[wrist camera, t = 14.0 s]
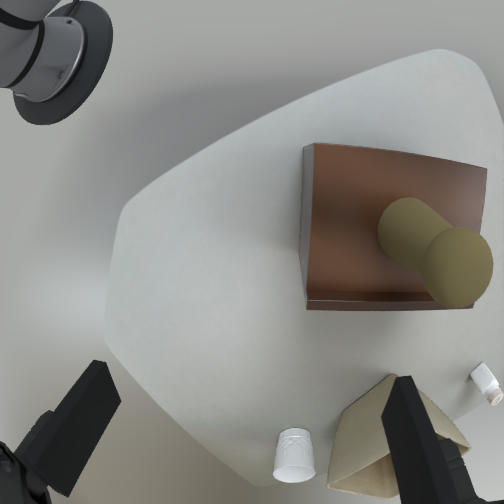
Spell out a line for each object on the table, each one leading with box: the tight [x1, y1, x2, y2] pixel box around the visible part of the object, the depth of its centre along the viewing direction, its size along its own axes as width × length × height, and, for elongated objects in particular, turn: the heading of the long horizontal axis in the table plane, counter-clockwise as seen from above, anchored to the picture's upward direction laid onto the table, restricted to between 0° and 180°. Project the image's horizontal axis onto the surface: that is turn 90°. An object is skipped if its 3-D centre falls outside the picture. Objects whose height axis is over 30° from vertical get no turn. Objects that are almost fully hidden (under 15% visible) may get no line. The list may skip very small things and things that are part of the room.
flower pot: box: [326, 374, 471, 499], centre depth 40 cm, size 19×19×17 cm
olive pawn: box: [377, 197, 493, 309], centre depth 19 cm, size 6×6×11 cm
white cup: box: [273, 428, 315, 483], centre depth 48 cm, size 8×8×10 cm
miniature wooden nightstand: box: [299, 143, 487, 311], centre depth 30 cm, size 14×18×16 cm
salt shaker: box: [470, 363, 503, 406], centre depth 39 cm, size 4×4×10 cm
